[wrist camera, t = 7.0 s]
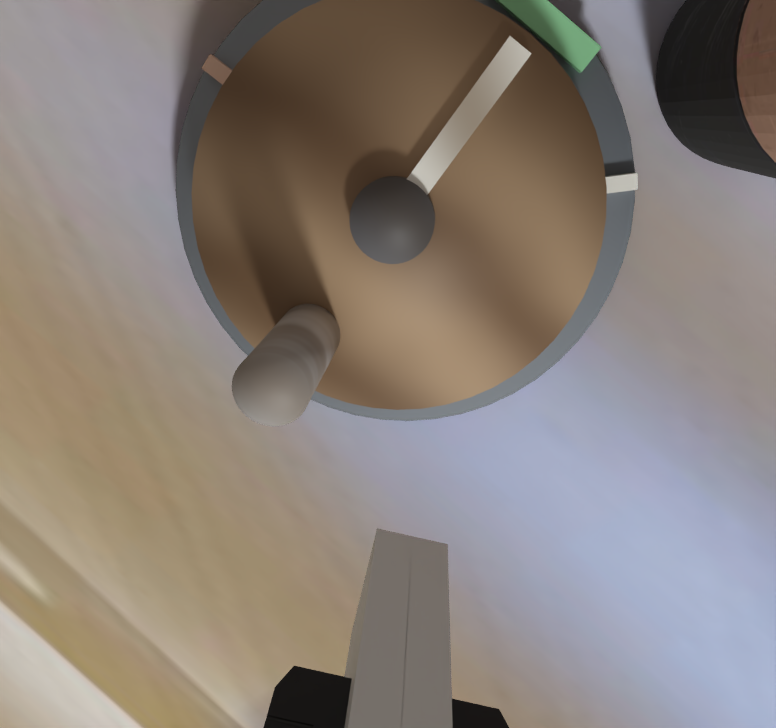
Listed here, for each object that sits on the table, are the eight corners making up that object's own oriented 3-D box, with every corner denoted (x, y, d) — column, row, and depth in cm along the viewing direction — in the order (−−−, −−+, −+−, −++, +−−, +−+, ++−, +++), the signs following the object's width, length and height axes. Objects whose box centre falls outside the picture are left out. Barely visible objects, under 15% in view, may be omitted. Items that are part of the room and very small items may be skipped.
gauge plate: (276, 450, 32) (267, 467, 31) (116, 55, 27) (95, 51, 25) (666, 350, 29) (679, 363, 27) (569, -123, 24) (577, -141, 22)
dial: (433, 455, 30) (426, 566, 22) (143, 249, 28) (29, 295, 21) (682, 170, 25) (778, 190, 18) (352, -102, 23) (303, -210, 16)
